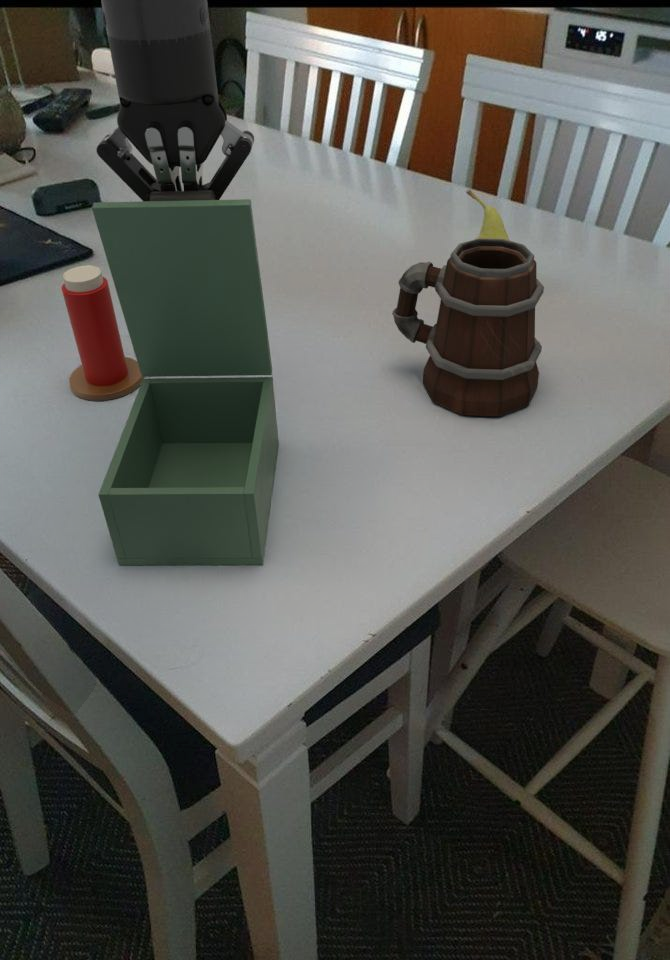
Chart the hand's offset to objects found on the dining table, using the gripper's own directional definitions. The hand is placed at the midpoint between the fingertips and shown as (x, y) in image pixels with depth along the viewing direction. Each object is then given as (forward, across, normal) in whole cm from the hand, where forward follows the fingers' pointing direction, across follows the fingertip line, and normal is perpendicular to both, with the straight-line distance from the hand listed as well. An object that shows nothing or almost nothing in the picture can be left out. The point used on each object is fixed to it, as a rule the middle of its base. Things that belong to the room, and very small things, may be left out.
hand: (191, 249), depth 70 cm
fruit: (+19, -31, -30) cm, 47 cm away
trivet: (+19, +14, -9) cm, 25 cm away
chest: (+19, 0, +11) cm, 22 cm away
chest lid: (+2, 0, +5) cm, 6 cm away
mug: (+19, -25, -8) cm, 33 cm away
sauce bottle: (+18, +13, -9) cm, 24 cm away
